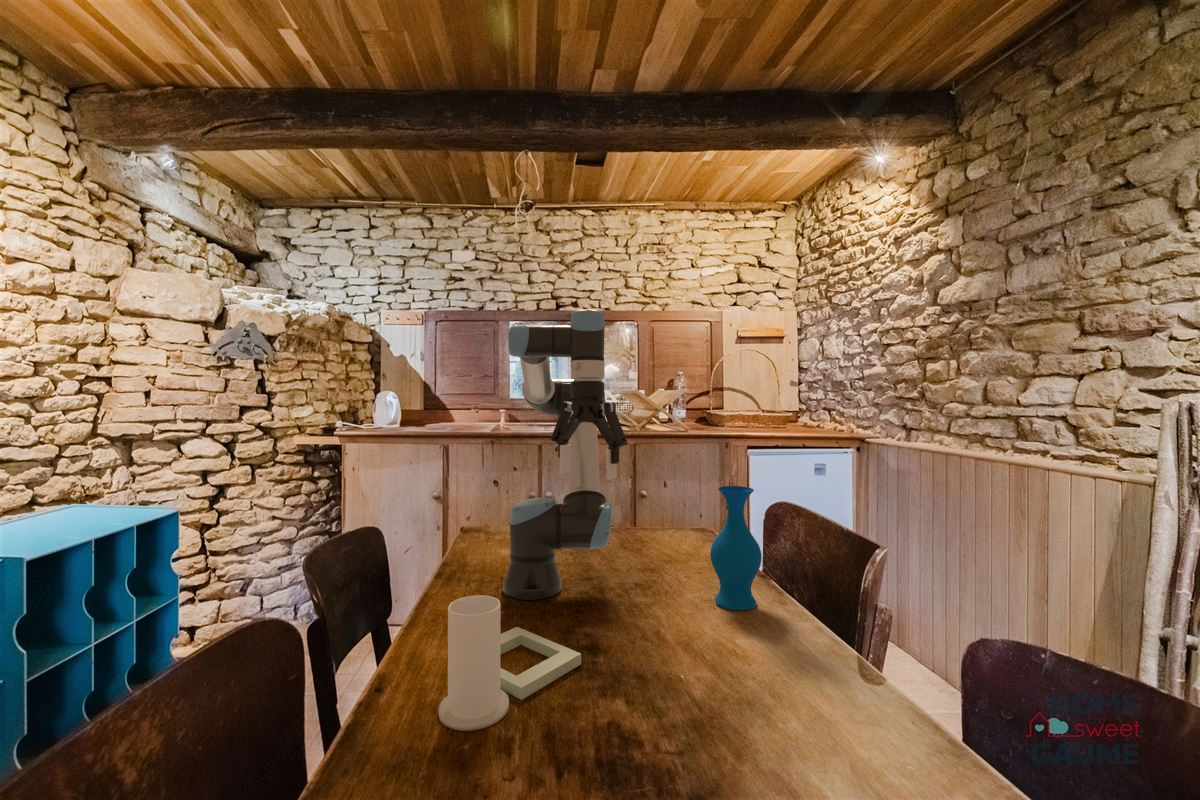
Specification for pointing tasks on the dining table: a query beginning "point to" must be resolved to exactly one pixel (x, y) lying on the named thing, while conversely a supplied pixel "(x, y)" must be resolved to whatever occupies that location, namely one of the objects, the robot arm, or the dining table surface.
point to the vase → (735, 554)
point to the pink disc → (473, 723)
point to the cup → (473, 656)
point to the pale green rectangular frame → (542, 672)
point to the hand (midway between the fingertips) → (587, 475)
